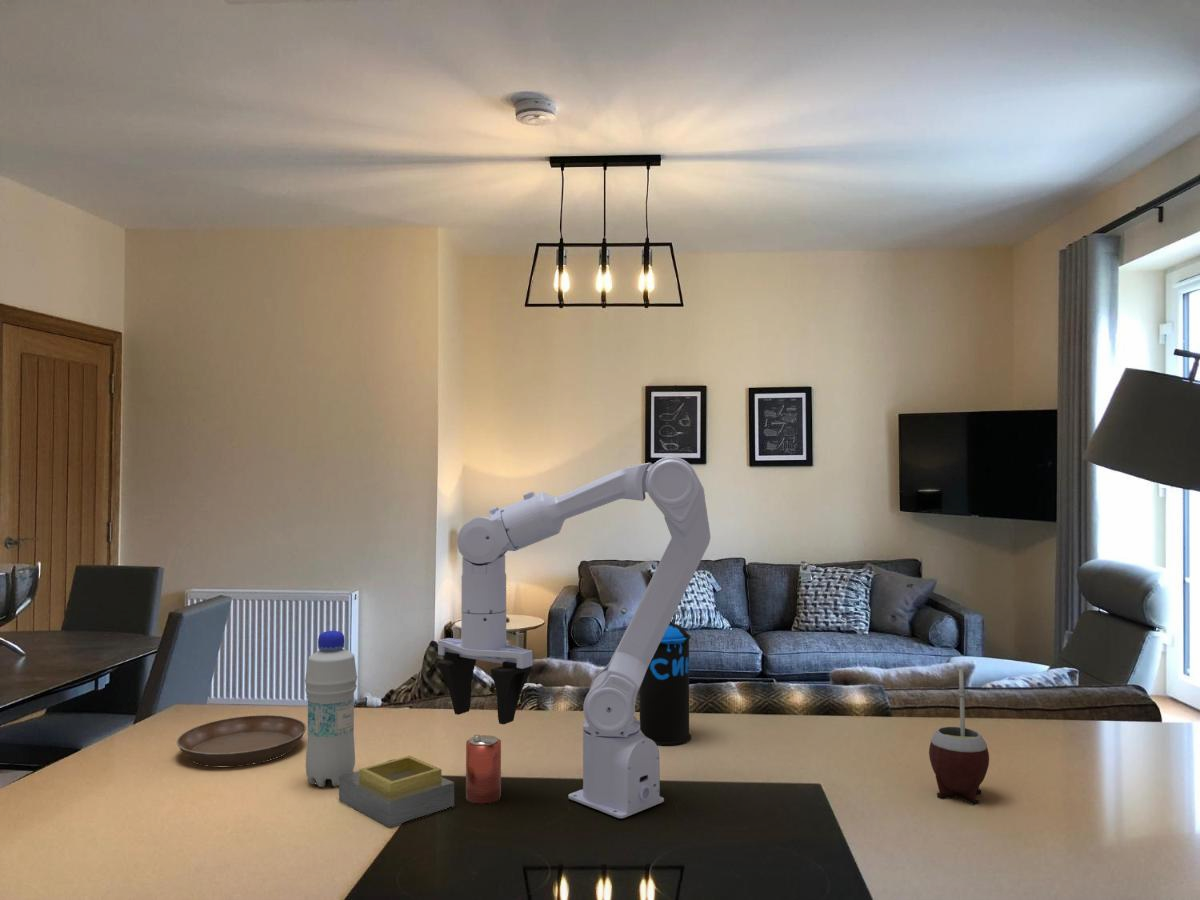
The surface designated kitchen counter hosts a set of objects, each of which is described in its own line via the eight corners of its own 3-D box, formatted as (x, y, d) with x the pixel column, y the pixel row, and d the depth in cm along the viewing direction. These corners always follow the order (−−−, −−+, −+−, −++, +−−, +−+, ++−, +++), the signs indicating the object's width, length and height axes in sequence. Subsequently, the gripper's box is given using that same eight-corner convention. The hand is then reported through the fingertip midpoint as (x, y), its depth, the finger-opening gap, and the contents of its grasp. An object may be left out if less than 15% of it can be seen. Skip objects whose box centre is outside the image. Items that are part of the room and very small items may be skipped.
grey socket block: (454, 806, 106) (454, 770, 107) (389, 828, 100) (389, 788, 100) (394, 779, 116) (395, 745, 116) (332, 796, 110) (333, 761, 110)
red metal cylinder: (507, 797, 110) (508, 734, 110) (479, 807, 107) (480, 741, 107) (486, 788, 113) (486, 726, 113) (458, 797, 110) (459, 734, 110)
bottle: (341, 792, 111) (342, 636, 112) (293, 788, 113) (295, 634, 113) (365, 774, 118) (366, 627, 119) (320, 771, 119) (321, 625, 120)
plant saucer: (266, 776, 118) (266, 754, 118) (149, 769, 121) (149, 747, 121) (326, 737, 135) (327, 717, 136) (223, 732, 138) (223, 712, 138)
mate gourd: (953, 808, 106) (952, 685, 107) (914, 786, 114) (913, 671, 114) (1004, 802, 108) (1003, 681, 108) (962, 780, 116) (961, 668, 116)
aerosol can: (628, 733, 136) (628, 606, 137) (674, 727, 140) (674, 603, 140) (653, 749, 129) (653, 614, 129) (701, 741, 132) (700, 610, 133)
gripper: (547, 611, 110) (547, 719, 110) (464, 602, 118) (464, 702, 118) (511, 619, 104) (511, 732, 104) (426, 608, 113) (426, 713, 112)
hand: (483, 717), depth 111 cm, fingers open, 7 cm apart
